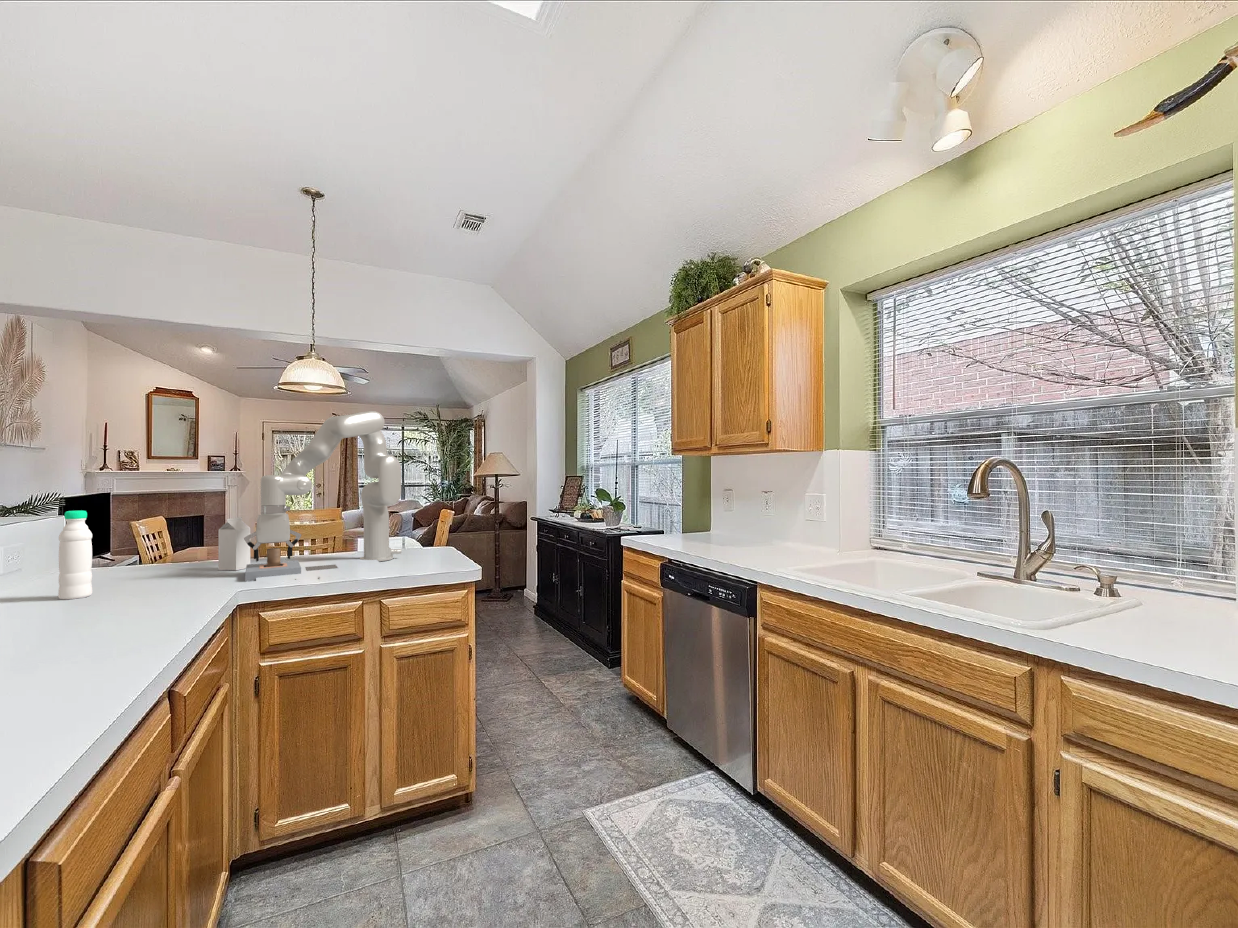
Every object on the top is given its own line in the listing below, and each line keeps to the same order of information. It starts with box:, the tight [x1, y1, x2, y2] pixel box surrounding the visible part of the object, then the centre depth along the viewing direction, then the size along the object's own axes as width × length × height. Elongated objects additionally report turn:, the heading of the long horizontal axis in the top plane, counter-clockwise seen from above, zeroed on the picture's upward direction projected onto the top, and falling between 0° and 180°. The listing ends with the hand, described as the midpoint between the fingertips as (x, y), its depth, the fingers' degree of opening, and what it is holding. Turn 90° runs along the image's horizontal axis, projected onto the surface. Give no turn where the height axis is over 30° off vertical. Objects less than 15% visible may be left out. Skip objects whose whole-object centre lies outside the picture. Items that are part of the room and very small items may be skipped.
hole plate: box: [244, 560, 302, 582], centre depth 199 cm, size 16×20×3 cm
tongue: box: [304, 564, 339, 572], centre depth 207 cm, size 10×10×1 cm
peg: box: [266, 547, 282, 567], centre depth 199 cm, size 4×4×9 cm
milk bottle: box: [57, 510, 93, 601], centre depth 164 cm, size 7×7×25 cm
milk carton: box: [217, 517, 251, 571], centre depth 212 cm, size 7×7×19 cm
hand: (273, 559), depth 199 cm, fingers open, 9 cm apart
